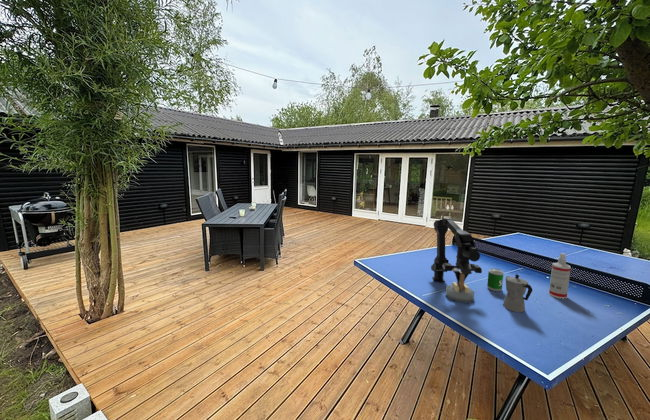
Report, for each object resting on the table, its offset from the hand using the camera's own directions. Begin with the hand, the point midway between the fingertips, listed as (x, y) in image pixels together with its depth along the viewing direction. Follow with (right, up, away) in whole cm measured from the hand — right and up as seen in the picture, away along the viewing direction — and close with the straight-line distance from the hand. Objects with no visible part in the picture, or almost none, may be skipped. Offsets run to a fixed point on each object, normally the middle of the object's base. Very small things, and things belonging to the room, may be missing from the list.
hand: (460, 282), depth 144 cm
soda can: (+26, -7, +11) cm, 30 cm away
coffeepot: (+22, -10, -12) cm, 27 cm away
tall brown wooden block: (0, -3, 0) cm, 3 cm away
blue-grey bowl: (0, -8, +1) cm, 8 cm away
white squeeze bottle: (+57, -9, +3) cm, 58 cm away
